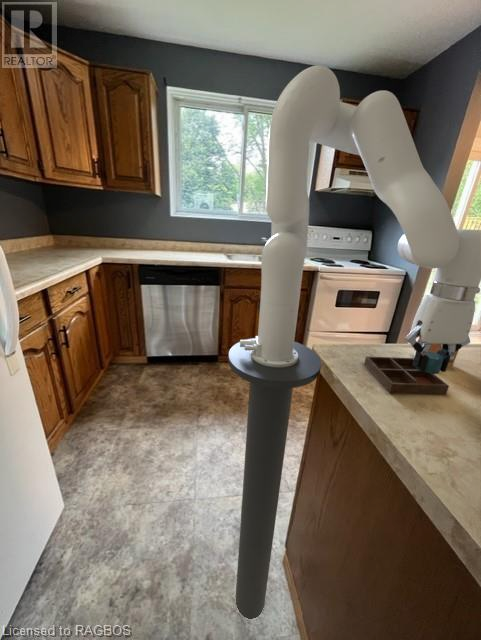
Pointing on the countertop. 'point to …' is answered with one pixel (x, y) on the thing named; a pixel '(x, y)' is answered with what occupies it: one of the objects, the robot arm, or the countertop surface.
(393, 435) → the countertop surface
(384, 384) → the grid
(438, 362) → the teal cylinder
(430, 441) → the countertop surface
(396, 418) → the countertop surface
